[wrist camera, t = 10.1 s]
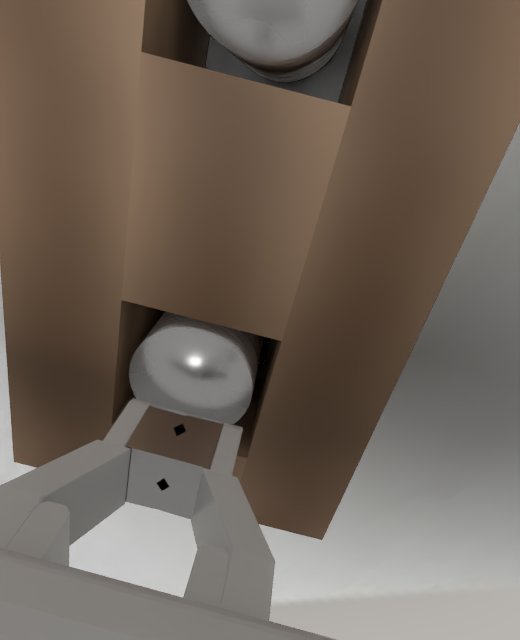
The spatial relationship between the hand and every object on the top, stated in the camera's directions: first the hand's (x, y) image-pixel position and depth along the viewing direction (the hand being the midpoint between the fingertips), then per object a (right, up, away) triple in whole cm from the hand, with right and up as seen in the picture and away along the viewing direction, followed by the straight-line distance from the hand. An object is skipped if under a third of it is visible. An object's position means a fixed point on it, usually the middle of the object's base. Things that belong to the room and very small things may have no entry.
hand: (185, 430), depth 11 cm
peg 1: (0, +3, +7) cm, 8 cm away
